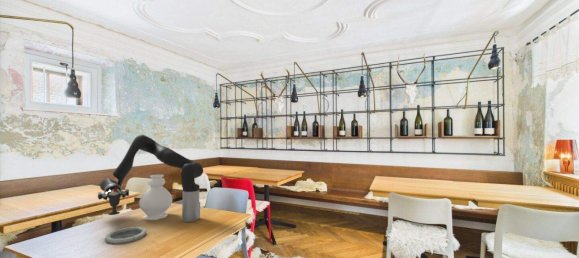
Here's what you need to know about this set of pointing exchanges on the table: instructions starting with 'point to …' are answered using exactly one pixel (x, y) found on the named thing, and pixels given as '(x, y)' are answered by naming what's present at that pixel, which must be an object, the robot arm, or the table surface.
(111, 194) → the sundae
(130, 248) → the table surface
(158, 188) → the decorative vase
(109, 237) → the tray
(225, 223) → the table surface
